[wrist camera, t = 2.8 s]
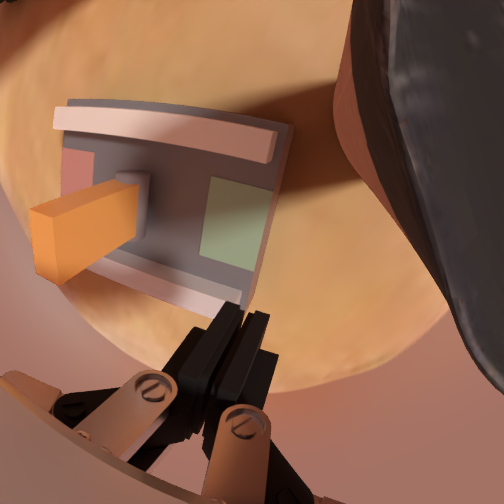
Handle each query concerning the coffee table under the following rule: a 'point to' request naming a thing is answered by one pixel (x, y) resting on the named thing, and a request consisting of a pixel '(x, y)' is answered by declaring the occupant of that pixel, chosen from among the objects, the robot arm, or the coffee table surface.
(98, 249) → the breaker lever
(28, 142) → the coffee table surface
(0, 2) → the toy figurine
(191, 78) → the coffee table surface
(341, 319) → the coffee table surface
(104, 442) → the robot arm
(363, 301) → the coffee table surface
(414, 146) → the travel mug
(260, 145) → the breaker block
